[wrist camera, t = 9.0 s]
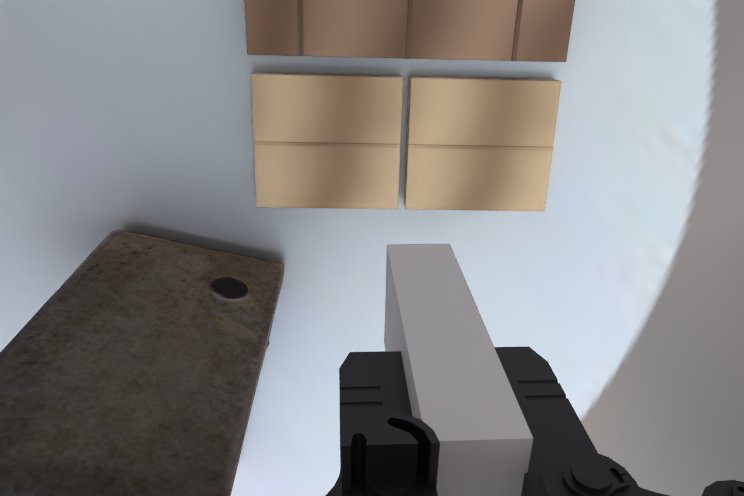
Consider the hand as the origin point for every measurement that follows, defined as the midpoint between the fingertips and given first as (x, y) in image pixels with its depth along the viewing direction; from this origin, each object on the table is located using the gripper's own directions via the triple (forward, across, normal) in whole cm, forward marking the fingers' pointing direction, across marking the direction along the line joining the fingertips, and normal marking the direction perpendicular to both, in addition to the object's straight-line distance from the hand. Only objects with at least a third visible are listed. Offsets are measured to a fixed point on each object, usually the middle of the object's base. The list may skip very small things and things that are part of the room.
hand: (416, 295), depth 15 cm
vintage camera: (+18, -11, -14) cm, 25 cm away
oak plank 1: (+18, -2, -1) cm, 18 cm away
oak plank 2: (+17, +5, -1) cm, 18 cm away
